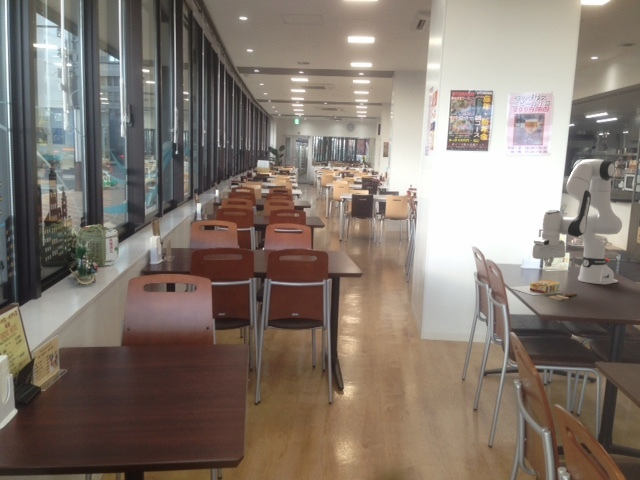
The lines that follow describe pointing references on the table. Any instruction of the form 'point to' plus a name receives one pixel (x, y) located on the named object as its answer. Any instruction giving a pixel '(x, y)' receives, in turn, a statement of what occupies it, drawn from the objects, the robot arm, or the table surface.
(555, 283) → the candy box
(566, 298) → the turner
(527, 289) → the mat
